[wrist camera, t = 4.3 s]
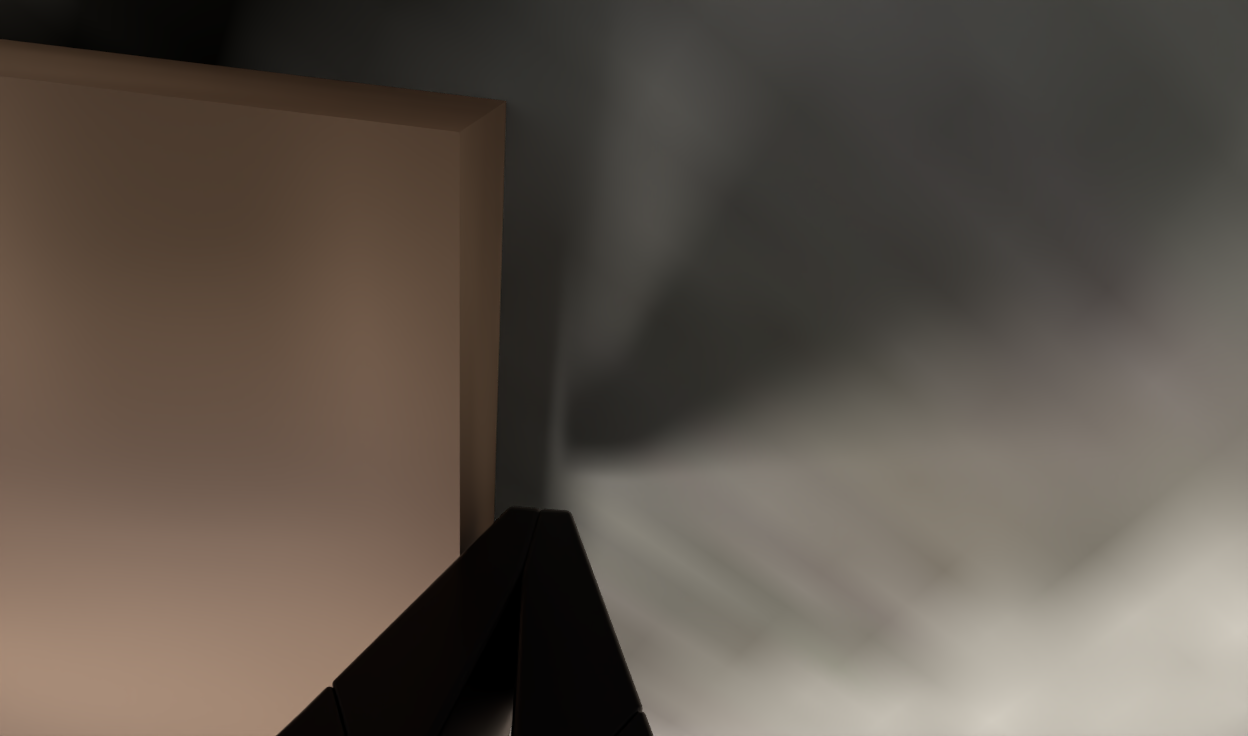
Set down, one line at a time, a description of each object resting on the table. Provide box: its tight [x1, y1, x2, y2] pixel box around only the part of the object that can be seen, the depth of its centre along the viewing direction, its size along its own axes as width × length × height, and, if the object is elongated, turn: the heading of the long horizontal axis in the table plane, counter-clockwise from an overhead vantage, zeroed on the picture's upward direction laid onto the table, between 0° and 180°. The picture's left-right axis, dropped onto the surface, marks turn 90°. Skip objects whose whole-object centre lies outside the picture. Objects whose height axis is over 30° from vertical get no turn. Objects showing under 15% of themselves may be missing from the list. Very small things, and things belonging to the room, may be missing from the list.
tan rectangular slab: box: [0, 39, 506, 736], centre depth 9 cm, size 10×7×2 cm
